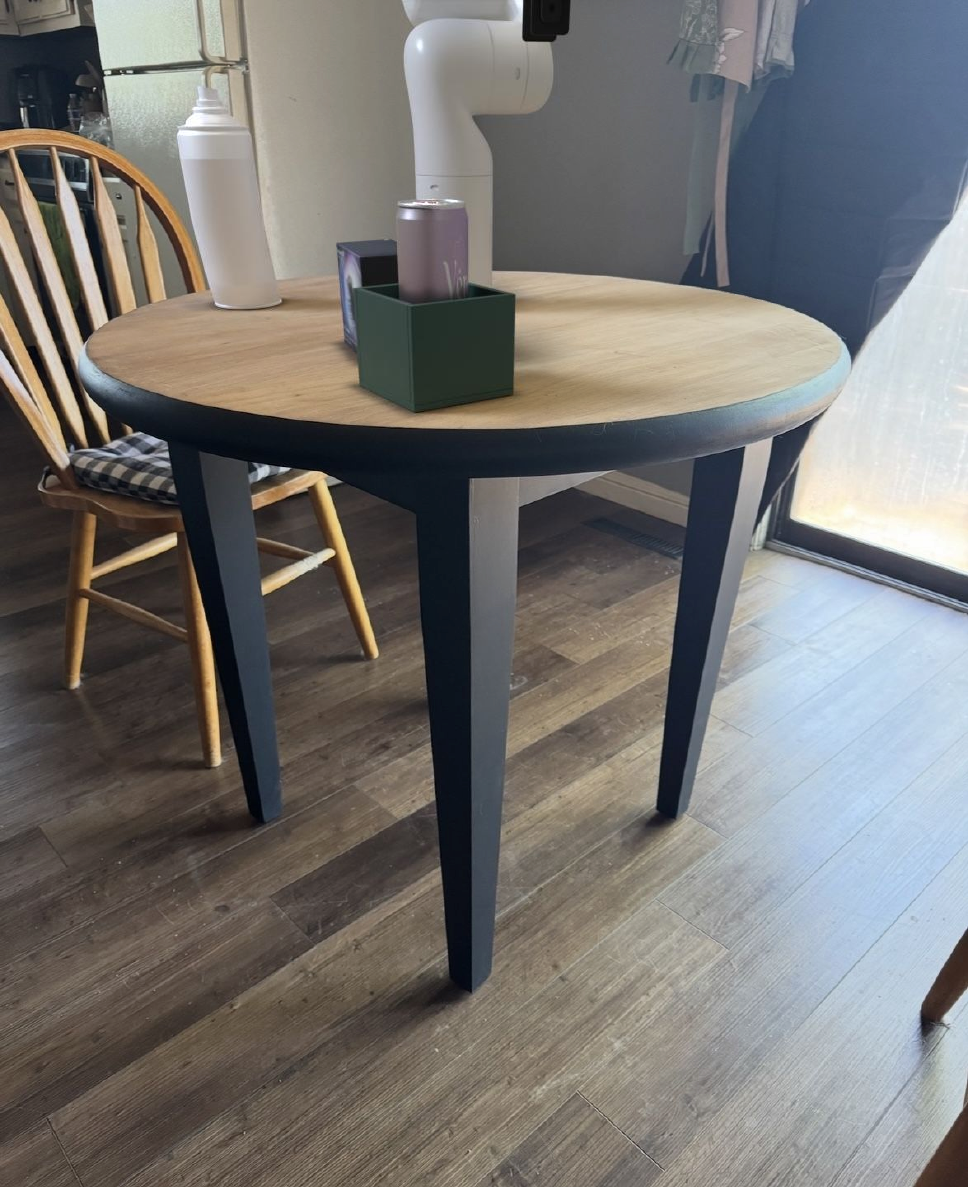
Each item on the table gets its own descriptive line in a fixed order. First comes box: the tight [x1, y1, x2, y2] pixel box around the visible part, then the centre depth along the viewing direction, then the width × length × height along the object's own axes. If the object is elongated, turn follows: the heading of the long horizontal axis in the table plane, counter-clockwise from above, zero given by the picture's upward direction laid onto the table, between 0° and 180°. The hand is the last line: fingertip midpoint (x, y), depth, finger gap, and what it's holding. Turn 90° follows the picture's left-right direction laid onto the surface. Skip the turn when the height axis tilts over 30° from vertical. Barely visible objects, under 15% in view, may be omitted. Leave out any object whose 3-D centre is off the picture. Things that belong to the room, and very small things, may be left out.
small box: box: [335, 238, 399, 355], centre depth 90 cm, size 11×6×10 cm, turn 21°
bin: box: [353, 282, 516, 413], centre depth 77 cm, size 10×10×9 cm
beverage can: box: [395, 198, 469, 304], centre depth 75 cm, size 6×6×15 cm
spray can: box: [176, 84, 283, 310], centre depth 109 cm, size 12×11×25 cm
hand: (544, 38), depth 78 cm, fingers open, 9 cm apart
